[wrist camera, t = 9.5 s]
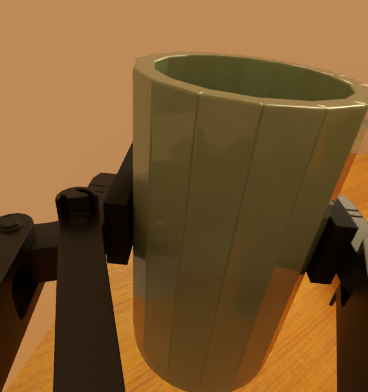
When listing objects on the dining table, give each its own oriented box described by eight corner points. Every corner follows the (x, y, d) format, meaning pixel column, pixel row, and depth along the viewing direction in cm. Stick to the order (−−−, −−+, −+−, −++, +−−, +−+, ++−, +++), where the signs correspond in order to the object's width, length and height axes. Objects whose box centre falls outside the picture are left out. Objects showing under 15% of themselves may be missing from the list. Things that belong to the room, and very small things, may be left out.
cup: (169, 428, 12) (215, 118, 5) (116, 293, 16) (104, 50, 10) (299, 355, 14) (434, 99, 8) (221, 259, 19) (264, 53, 13)
